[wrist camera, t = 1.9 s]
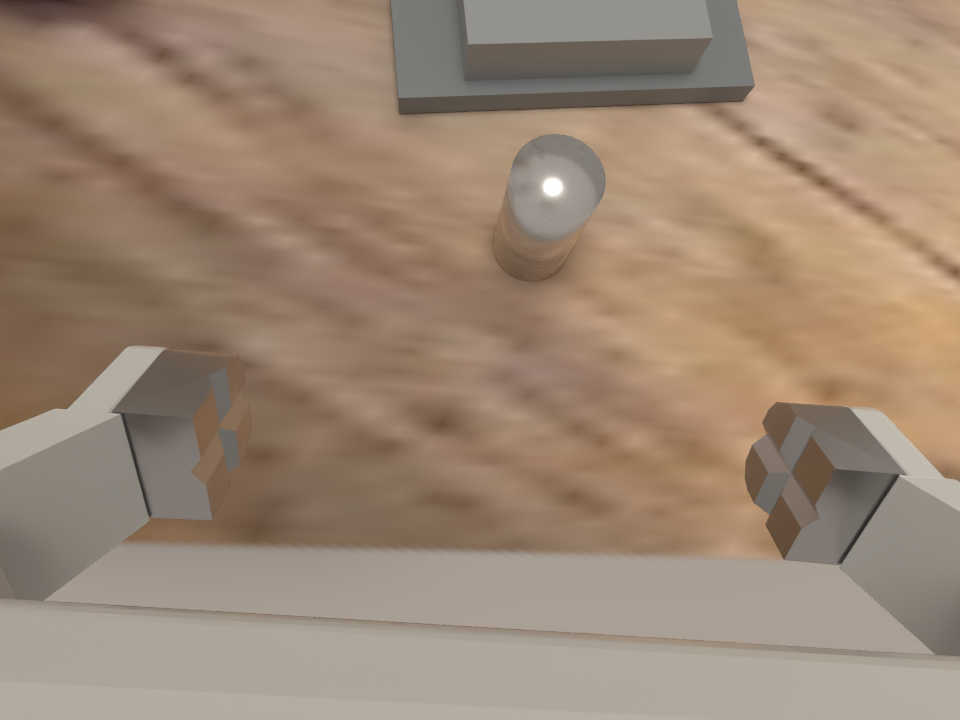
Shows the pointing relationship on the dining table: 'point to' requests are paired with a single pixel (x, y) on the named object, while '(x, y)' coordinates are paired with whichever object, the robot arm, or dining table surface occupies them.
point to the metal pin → (546, 205)
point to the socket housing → (567, 53)
